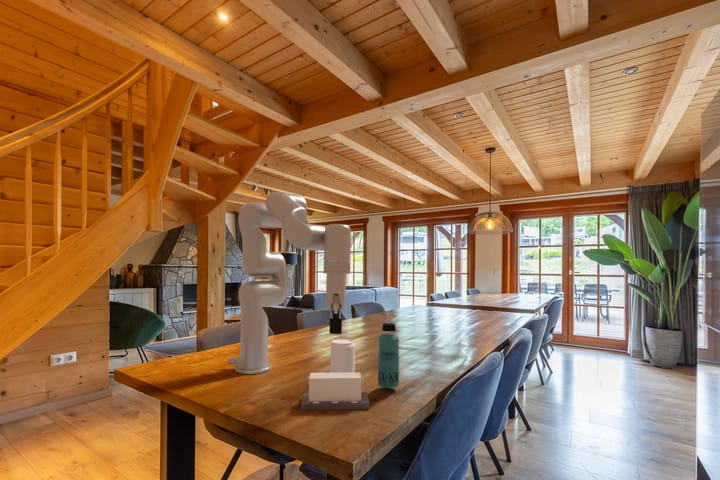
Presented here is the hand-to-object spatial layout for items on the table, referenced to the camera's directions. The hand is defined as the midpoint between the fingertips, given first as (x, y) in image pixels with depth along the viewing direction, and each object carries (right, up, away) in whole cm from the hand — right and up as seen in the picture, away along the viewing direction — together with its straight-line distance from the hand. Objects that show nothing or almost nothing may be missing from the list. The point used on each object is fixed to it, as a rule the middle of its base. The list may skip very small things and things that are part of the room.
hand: (335, 330), depth 98 cm
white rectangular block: (0, -18, -1) cm, 18 cm away
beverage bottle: (+15, -21, +9) cm, 28 cm away
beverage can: (+1, -21, +21) cm, 30 cm away
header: (0, -20, -1) cm, 20 cm away
